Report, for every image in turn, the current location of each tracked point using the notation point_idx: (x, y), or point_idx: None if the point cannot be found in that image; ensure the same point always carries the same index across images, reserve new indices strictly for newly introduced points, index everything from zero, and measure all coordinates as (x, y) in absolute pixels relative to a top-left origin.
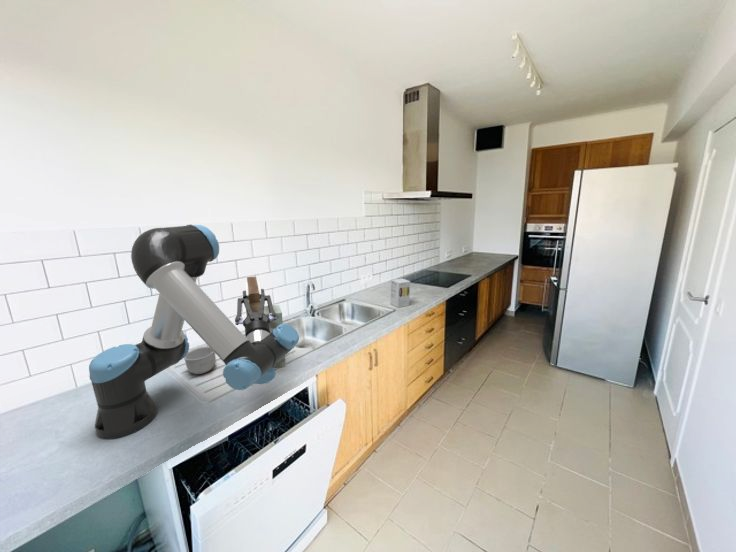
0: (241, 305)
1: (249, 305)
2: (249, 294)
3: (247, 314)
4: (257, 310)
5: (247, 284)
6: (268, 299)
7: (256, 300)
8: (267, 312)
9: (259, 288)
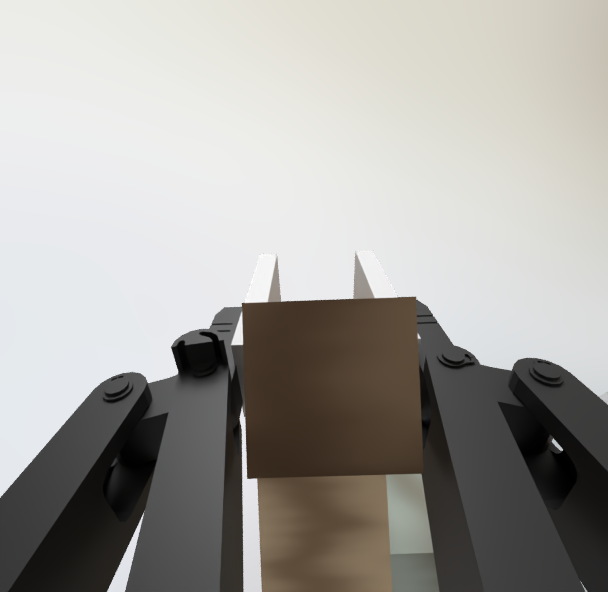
0: (140, 492)
1: (216, 562)
2: (256, 312)
3: (267, 534)
4: (345, 507)
5: (273, 263)
6: (589, 432)
7: (366, 431)
8: (411, 519)
9: (382, 288)
